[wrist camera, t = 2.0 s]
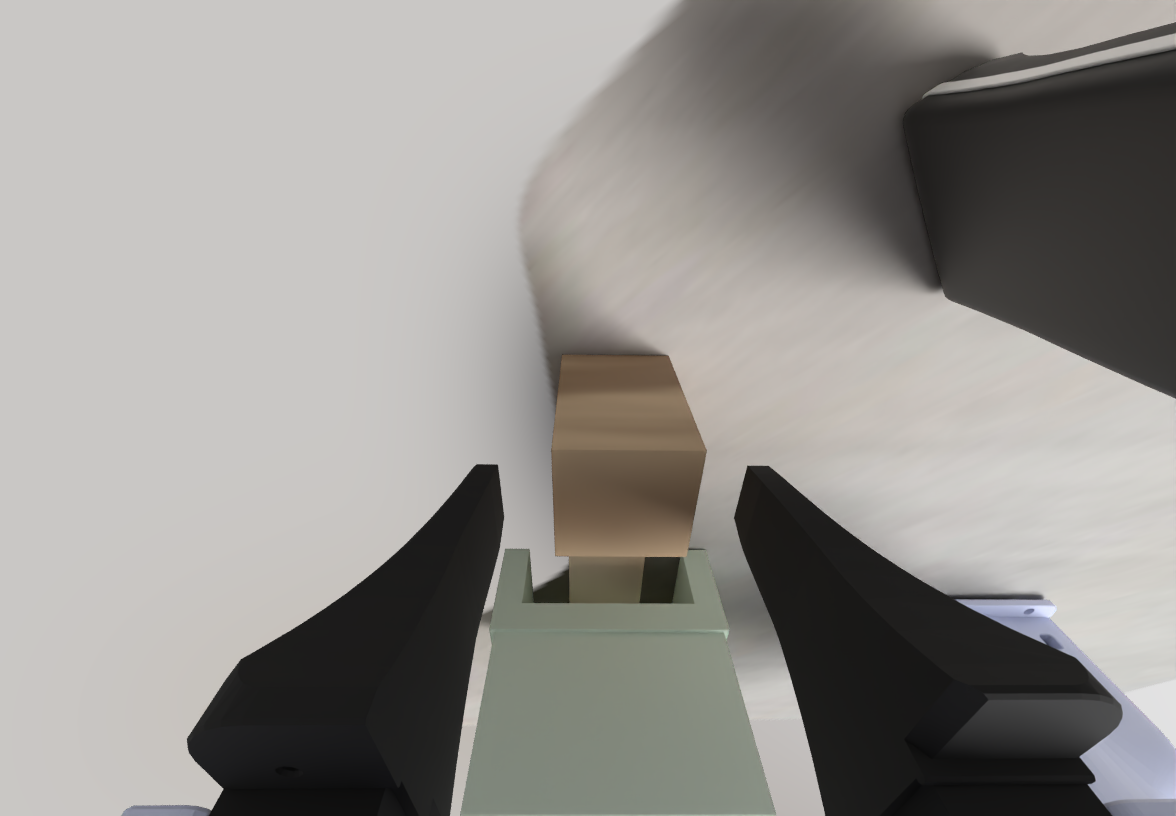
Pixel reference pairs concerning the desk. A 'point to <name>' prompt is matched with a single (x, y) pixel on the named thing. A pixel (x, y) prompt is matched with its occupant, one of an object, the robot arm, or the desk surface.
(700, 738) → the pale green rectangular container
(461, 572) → the robot arm
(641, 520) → the wooden rectangular block
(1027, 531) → the desk surface
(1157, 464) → the desk surface
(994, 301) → the battery charger
